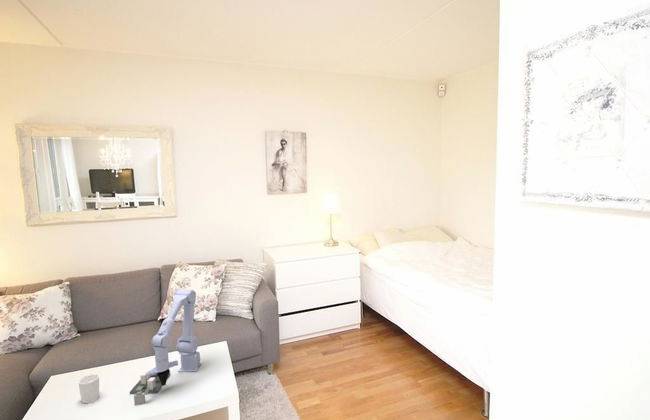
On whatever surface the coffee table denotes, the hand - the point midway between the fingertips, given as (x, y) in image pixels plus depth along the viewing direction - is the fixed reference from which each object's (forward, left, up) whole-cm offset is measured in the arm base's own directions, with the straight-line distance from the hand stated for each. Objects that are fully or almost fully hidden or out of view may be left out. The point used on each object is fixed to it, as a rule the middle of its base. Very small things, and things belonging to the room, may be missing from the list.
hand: (163, 384), depth 163 cm
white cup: (+32, +5, -3) cm, 33 cm away
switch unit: (+9, -5, -3) cm, 10 cm away
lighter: (+5, +9, -3) cm, 11 cm away
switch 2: (+6, 0, -1) cm, 6 cm away
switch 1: (+12, -5, -1) cm, 13 cm away
